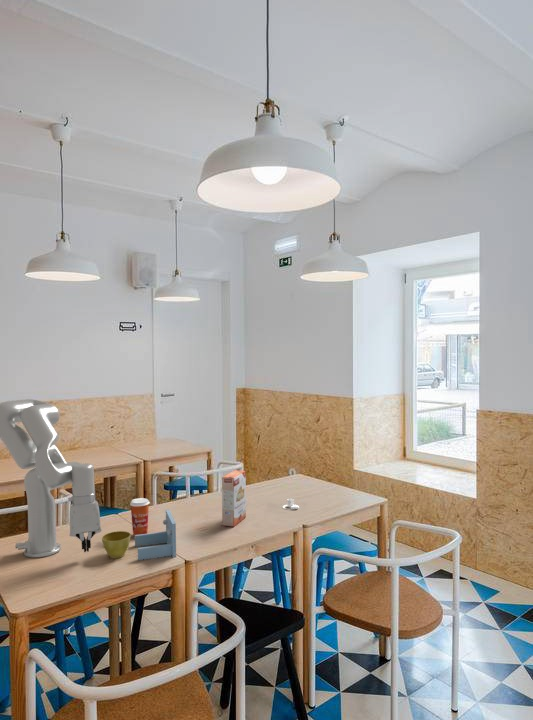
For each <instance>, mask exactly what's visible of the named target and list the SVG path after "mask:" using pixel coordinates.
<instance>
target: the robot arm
mask: <svg viewBox="0 0 533 720" xmlns="http://www.w3.org/2000/svg"><path fill="white" fill-rule="evenodd" d="M60 418H61V417H60V411H59V409H58V408H57V406H56V405H54V404H52V403H49V402H46V401H41V400H37V399H32V398H30V399H29V398H27V399H19V400H18V399H17V400H8V401H3V402H0V440H1V442H3V444H4V445H5V448H6V449H7V451H8V452H9V454H10V456H11V457H12V458H13V460H14V462H15V463H16V465H17V466H18V467H19V468H20V469H21V470H29V471H28V472H26V474H25V476H24V479H23V484H24V489H25V492H26V493H25V494H26V499H27V500H26V501H27V523H28V525H27V531H28V534H27V535H28V540H25V541H23V542H16V543H15V549H18V550H19V551H20V550H24V551H23V554H24V556H25V557H28V558H43V557H44V558H45V557H48V556H51V555H54V554H56V553H58V552H59V551H61V549H62V546H61V544H60V543H59V542H57V516H56V515H57V512H56V509H57V508H56V501H55V498H54V496H53V495H52V493H51V491H53V490H56V489H59V488H62V487H65V486H66V485H70V484H71V489H72V496H71V497H68V499H67V500H68V501H67V502H71V504H70V508H69V536H70V537H74V538H77V539H79V540H80V541H81V550H83V553H86V552H87V553H89V551H90V549H91V548H92V543H91V540H92V538H93V537H94V536H95V535H96V534H98V533H101V532H102V526H101V516H100V514H101V513H100V507H99V503H98V500H96V488H95V485H96V484H95V473H94V472H95V469H94V465H93V464H91V463H82V462H81V463H80V462H77V461H69V462H67V461H66V459H65V458H64V456H63V455H62V453H61V451H60V450H59V448H58V447H57V445H56V444H57V443H58V441H59V439H60V435H59V434H58V432H57V430H56V429H55V427H54V426H53V425H56V424H57V423H58V422H59V421H60ZM16 423H22V424H23V425H22V426H24V429H25V430H24V429H23V428H22V427H20V426H19V425H17V424H16ZM86 533H87V536H86V537H85V534H86Z"/></svg>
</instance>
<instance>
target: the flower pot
mask: <svg viewBox="0 0 533 720" xmlns="http://www.w3.org/2000/svg"><path fill="white" fill-rule="evenodd" d="M101 541H102V545H103V548H104V550H105V553H107V555H108V557H109V558H111V559H119V558H122V557H124V556H125V554H126V552H127V550H128V548H129V545H130V541H131V532H129V531H123V530H118V531H112V532H108V533H105V534H104V535H101Z"/></svg>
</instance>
